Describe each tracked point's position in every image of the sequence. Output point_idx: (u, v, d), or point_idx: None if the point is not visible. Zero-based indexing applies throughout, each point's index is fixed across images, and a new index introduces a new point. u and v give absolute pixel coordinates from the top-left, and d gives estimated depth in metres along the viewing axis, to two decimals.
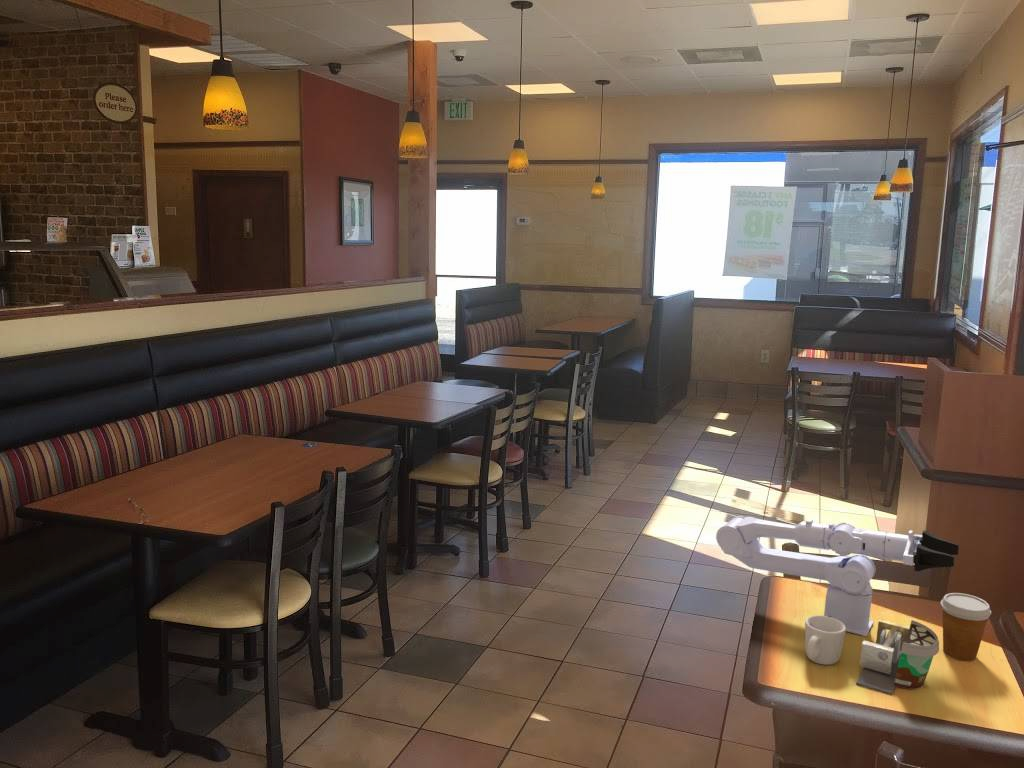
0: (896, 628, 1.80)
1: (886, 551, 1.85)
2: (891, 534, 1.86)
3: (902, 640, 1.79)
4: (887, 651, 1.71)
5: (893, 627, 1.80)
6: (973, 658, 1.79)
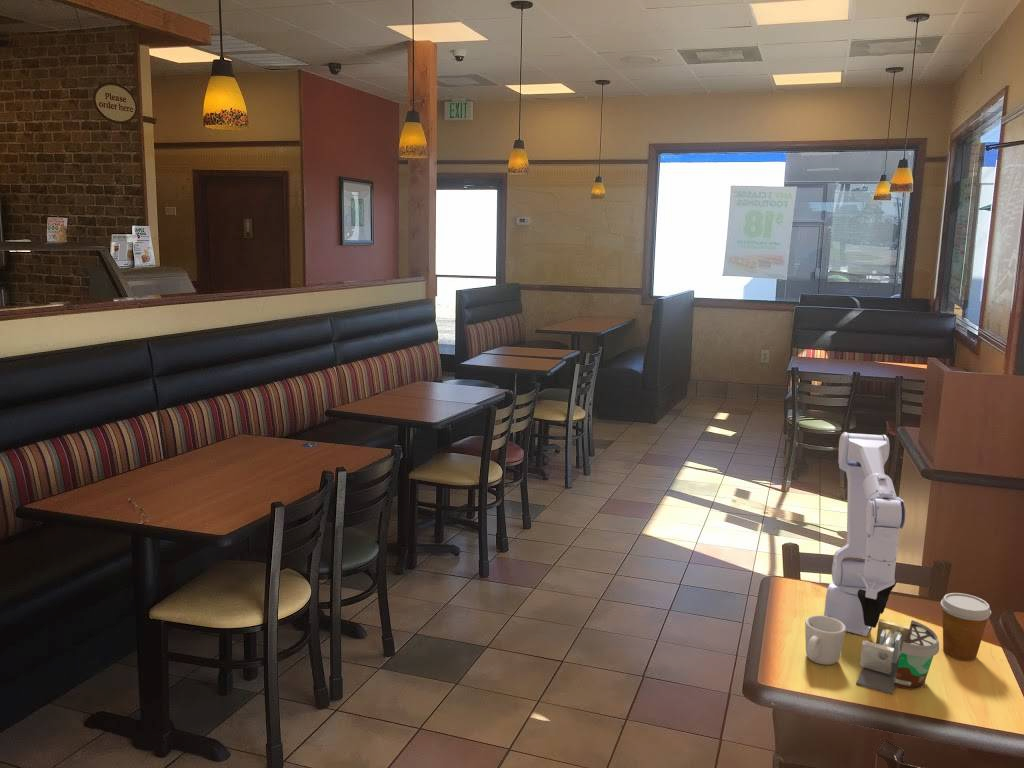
0: (896, 628, 1.80)
1: None
2: None
3: (902, 640, 1.79)
4: (887, 651, 1.71)
5: (893, 627, 1.80)
6: (973, 658, 1.79)
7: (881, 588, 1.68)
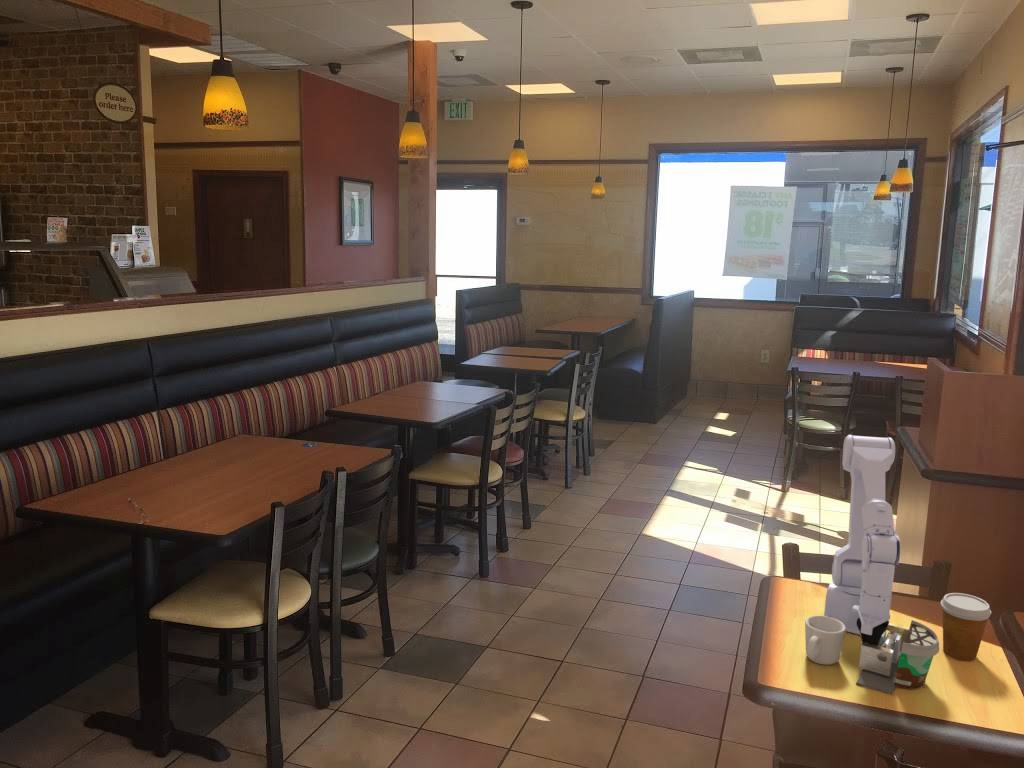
0: (896, 629, 1.79)
1: None
2: None
3: (902, 641, 1.79)
4: (886, 653, 1.70)
5: (892, 628, 1.80)
6: (973, 658, 1.79)
7: (876, 624, 1.69)
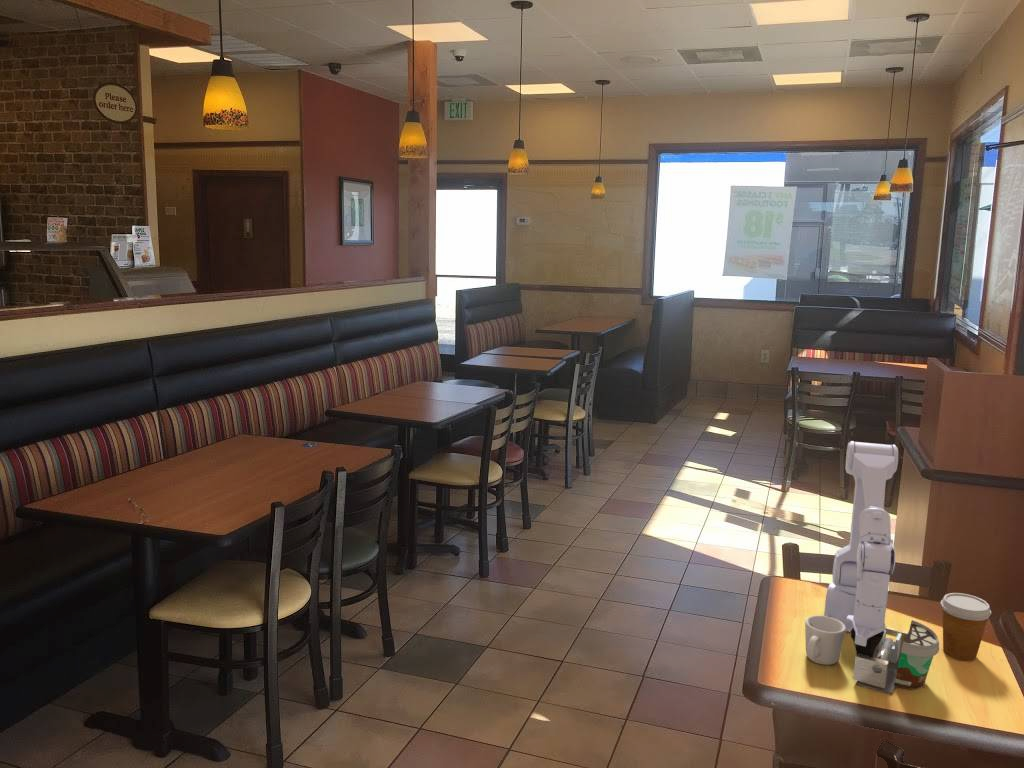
0: (895, 633, 1.80)
1: None
2: None
3: (901, 645, 1.79)
4: (881, 664, 1.66)
5: (892, 632, 1.80)
6: (973, 658, 1.79)
7: (871, 635, 1.64)
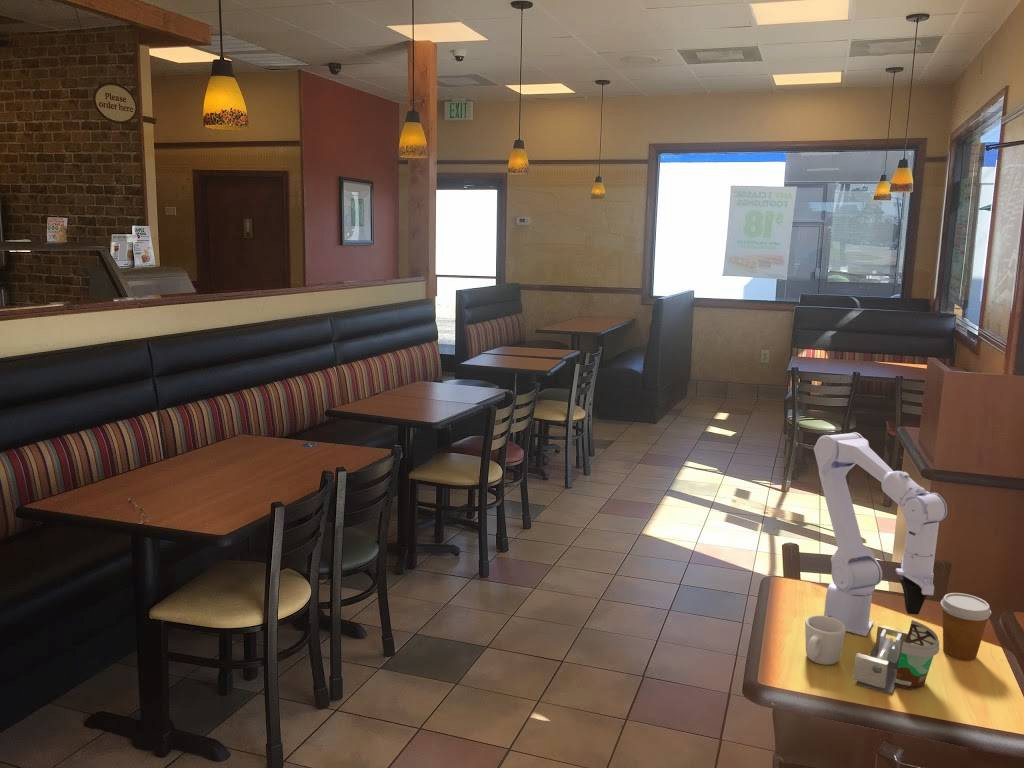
0: (895, 633, 1.80)
1: None
2: (904, 554, 1.76)
3: (901, 645, 1.79)
4: (881, 664, 1.66)
5: (892, 632, 1.80)
6: (973, 658, 1.79)
7: (932, 583, 1.71)
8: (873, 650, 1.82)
